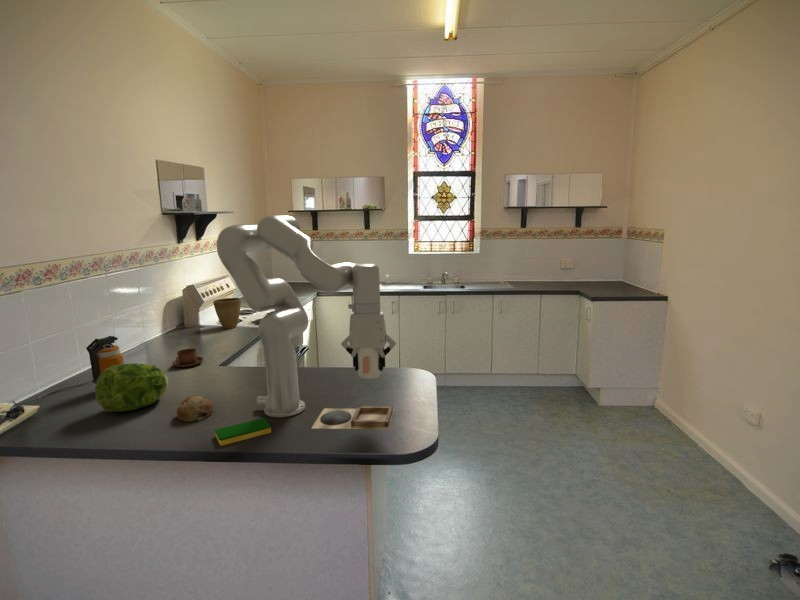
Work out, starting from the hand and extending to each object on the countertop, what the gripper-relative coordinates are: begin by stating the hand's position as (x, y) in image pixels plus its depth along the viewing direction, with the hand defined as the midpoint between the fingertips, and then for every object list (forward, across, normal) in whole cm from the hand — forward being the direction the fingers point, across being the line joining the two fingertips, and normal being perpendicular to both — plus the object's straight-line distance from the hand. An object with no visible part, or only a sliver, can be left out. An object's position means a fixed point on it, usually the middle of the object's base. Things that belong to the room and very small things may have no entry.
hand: (369, 368), depth 135 cm
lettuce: (+17, -80, +10) cm, 82 cm away
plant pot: (+18, -103, +123) cm, 161 cm away
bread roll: (+17, -57, +3) cm, 59 cm away
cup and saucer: (+18, -88, +54) cm, 105 cm away
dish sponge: (+17, -35, -9) cm, 40 cm away
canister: (+18, -101, +24) cm, 105 cm away
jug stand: (+16, -5, 0) cm, 17 cm away
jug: (+2, 0, -1) cm, 2 cm away
